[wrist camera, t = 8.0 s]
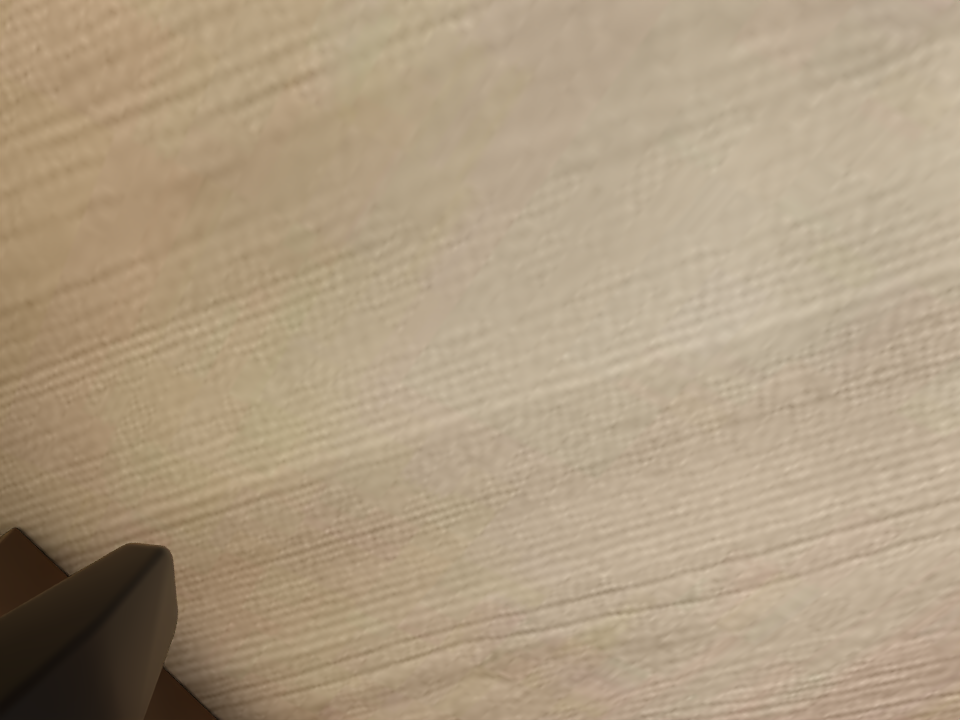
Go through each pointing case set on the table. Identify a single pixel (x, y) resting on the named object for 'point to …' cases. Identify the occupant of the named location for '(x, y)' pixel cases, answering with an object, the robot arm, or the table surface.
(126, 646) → the robot arm
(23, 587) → the brown flat block
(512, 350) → the table surface
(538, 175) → the table surface
